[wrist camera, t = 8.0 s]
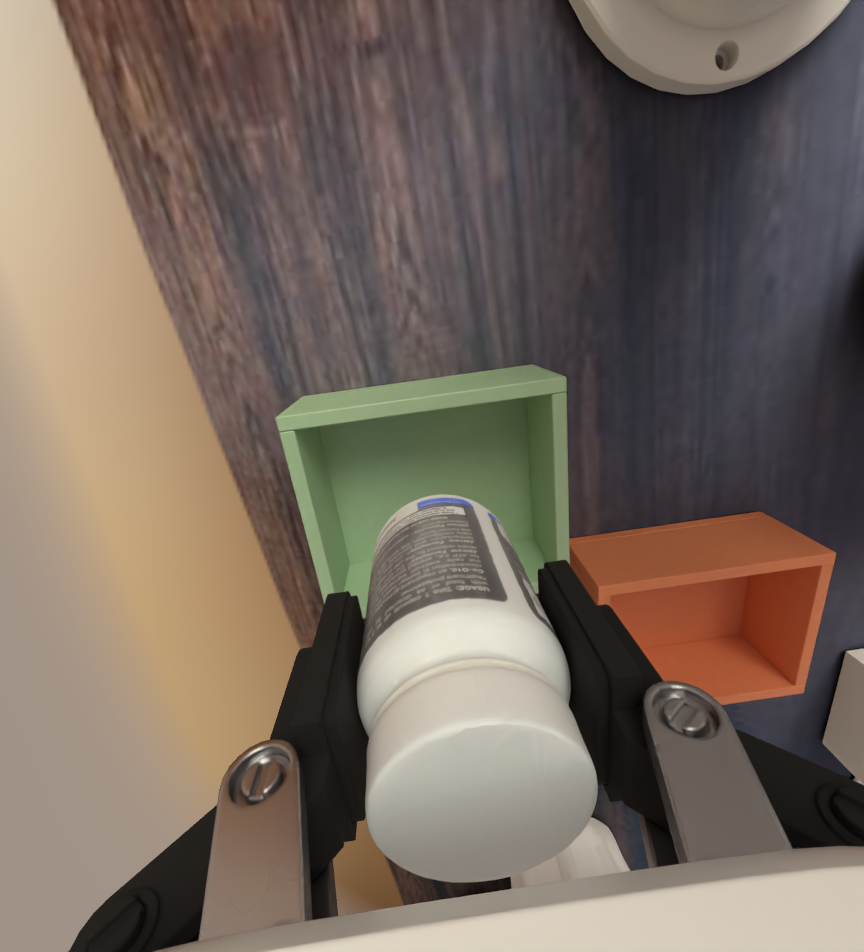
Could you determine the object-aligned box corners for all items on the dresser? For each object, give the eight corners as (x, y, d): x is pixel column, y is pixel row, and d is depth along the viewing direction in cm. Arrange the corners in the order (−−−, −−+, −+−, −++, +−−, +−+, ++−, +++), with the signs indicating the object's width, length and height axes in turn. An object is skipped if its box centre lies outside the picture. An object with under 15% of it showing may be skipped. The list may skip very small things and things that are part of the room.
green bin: (302, 396, 21) (274, 417, 16) (533, 364, 21) (566, 376, 16) (342, 568, 24) (329, 624, 20) (541, 540, 24) (570, 589, 20)
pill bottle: (353, 583, 15) (296, 868, 7) (408, 469, 14) (411, 666, 6) (471, 626, 16) (533, 919, 8) (534, 523, 15) (679, 756, 7)
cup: (613, 898, 36) (696, 1130, 26) (469, 896, 35) (495, 1139, 25) (660, 798, 32) (781, 1027, 22) (498, 792, 31) (544, 1032, 20)
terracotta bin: (564, 538, 24) (598, 587, 20) (760, 510, 24) (837, 552, 20) (566, 659, 27) (597, 723, 23) (741, 634, 27) (803, 693, 23)
